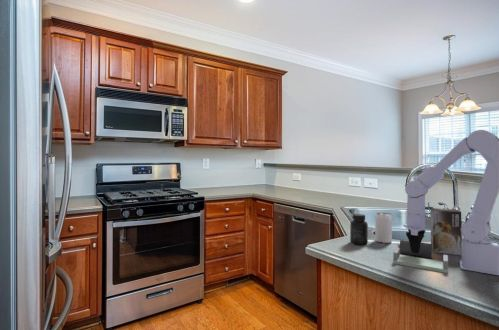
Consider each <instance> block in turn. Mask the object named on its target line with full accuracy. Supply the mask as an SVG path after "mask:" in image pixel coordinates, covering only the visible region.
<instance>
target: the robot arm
mask: <svg viewBox="0 0 499 330" xmlns="http://www.w3.org/2000/svg"><path fill="white" fill-rule="evenodd" d="M474 153H479V154H480V155H481V156H482V158H484V160H485V161H486V162H487V163H486V166H485V169H484V173H483V176H482V178H481V182H480V183H479V184H480V185H479V188H478V191H477V194H476V197H475V200H474V204H473V206H472V210H471V212H470V213H469V215H468V218H467V220H466V222H465V223H463V224H461V233H462V255H461V260H459V267H460V268H459V269H461V270H466V271H471V272H477V273H484V274H488V275H489V274H490V275H495V276H499V244H498V243H495V242H491V240H490V239H489V237H488V236H489V235H490V233H491V230H492V229H491V223H490V222H491V220H492V219H491V218H492V212H493V210H494V207H495V204H496V200H497V197H498V195H499V137H498V136H497V135H495V134H494V133H493V132H490V131H488V130H486V129H477V130H473V131H472V132H471V133H469V134H468V136H466V137H464V138H463V139H462V140H461V141H460V142H458V143H457V144H455V146H454V147H453V148H452V149H451V150H450V151H448V152H447V154H446V155H445V156H444V157H443V158H441V159H440V160H439V161H438V163H436V164H435V165H432V164H431V165H429V166H425V167H424V168H423V171H422V172H420V174H419V175H418V176H414V177H413V180H411V181H408V182H407V184H405V188H404V191H405V193H406V195H407V198H406V199H407V201H406V205H407V206H406V221H407V222H406V223H404V224H403V227H404V228H407V231H406V232H405V235H406V237H407V239H408V241H409V242H410V247H411V252H412V253H419V249H420V244H421V243H422V241H423V239H424V237H425V233H426V227H427V226H426V195H427V193H428V192H429V189H431V188H432V187H434V186H435V185H436V184H437V183H439V182H440V181H441V180H442V179H444V177H445V171H446V170H448V169H449V168H450V167H452V165H454V164H455V163H456V162H458V161H459V160H460V159H461V158H462V157H464V156H465V155H467V156H468V155H470V154H474Z"/></svg>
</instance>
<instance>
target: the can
mask: <svg viewBox="0 0 499 330" xmlns="http://www.w3.org/2000/svg"><path fill="white" fill-rule="evenodd" d="M374 217H375V219H374V220H375V222H374V223H375V224H374V233H375V234H374V240H375V242H377V241H378V243H379V242H382V243H381V244H391V243H392V241H393V218H392V216H391V213H390V212H389V213H388V212H376V215H375V216H374ZM390 242H391V243H390Z"/></svg>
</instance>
